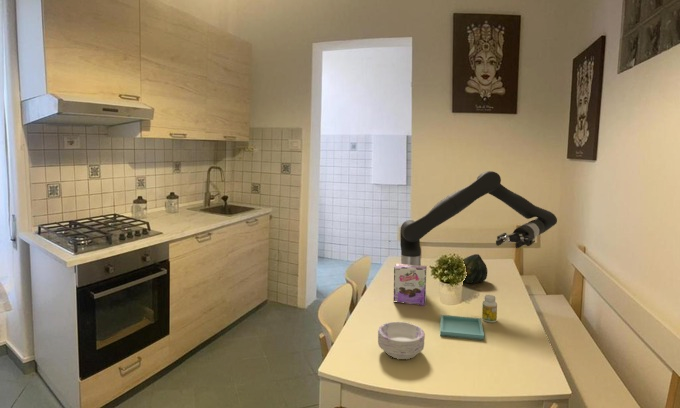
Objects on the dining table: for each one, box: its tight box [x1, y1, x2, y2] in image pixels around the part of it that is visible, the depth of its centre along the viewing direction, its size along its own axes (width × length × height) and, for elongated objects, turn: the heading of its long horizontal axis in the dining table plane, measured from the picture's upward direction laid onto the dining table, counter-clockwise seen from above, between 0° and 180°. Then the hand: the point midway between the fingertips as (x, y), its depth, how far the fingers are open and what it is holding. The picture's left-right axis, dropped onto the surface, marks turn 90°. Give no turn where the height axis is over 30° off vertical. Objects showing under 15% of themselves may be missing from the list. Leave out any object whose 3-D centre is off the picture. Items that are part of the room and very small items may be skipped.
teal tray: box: [439, 314, 485, 341], centre depth 153 cm, size 15×15×2 cm
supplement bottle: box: [481, 294, 498, 323], centre depth 160 cm, size 5×5×10 cm
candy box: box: [393, 263, 428, 306], centre depth 179 cm, size 14×6×16 cm, turn 74°
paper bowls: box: [377, 320, 426, 360], centre depth 135 cm, size 15×15×8 cm
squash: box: [462, 253, 488, 284], centre depth 205 cm, size 14×15×15 cm
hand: (506, 244), depth 168 cm, fingers open, 8 cm apart
